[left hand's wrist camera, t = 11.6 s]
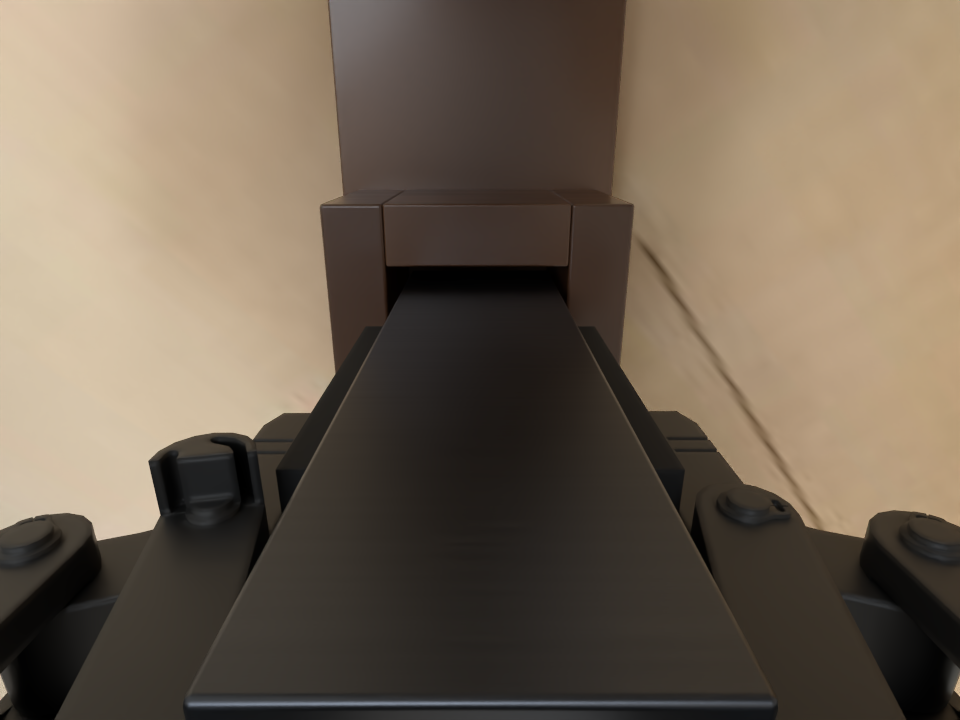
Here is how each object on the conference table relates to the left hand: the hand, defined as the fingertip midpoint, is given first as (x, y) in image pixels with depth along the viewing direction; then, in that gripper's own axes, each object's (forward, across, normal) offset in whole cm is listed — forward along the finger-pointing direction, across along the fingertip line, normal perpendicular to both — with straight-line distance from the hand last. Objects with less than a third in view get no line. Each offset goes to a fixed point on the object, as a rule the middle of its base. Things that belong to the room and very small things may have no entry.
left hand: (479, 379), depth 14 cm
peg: (+4, 0, 0) cm, 4 cm away
